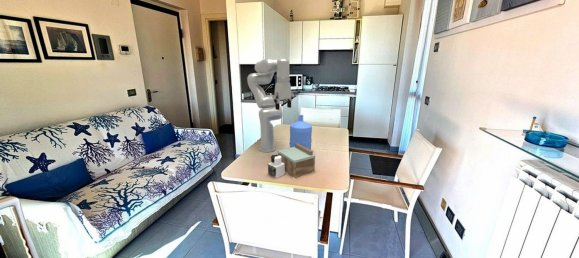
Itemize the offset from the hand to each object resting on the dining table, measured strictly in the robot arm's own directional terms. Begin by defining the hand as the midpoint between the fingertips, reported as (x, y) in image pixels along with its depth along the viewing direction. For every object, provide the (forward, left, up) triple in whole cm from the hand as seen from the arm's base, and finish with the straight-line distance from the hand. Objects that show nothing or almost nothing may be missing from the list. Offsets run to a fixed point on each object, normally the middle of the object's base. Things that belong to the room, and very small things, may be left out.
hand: (283, 108), depth 148 cm
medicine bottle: (+13, -13, -36) cm, 41 cm away
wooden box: (+13, +1, -36) cm, 38 cm away
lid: (+13, +1, -27) cm, 30 cm away
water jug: (-7, +18, -36) cm, 41 cm away
